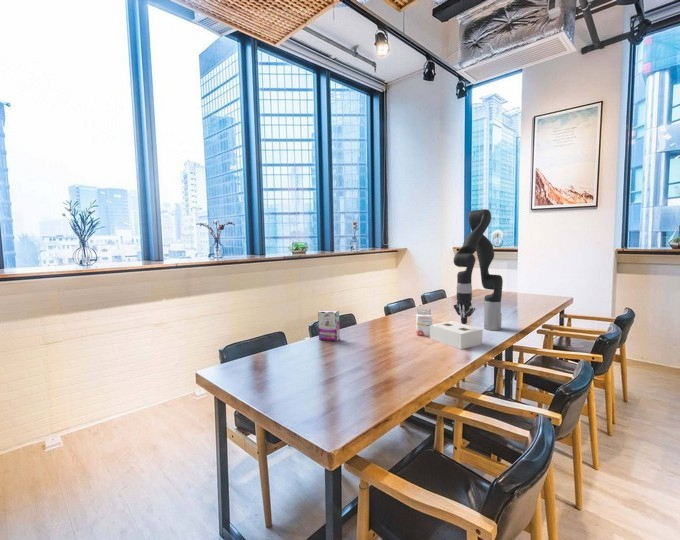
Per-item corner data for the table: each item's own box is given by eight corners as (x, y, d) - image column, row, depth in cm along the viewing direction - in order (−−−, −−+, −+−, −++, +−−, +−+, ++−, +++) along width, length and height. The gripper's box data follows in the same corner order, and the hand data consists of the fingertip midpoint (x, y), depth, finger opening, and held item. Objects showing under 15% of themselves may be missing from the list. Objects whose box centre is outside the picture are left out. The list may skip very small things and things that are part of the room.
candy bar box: (340, 339, 201) (339, 310, 199) (336, 341, 196) (336, 312, 195) (322, 337, 205) (321, 309, 203) (318, 339, 200) (317, 311, 199)
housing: (450, 334, 206) (450, 320, 205) (482, 344, 187) (482, 329, 186) (430, 338, 198) (430, 324, 197) (461, 349, 179) (461, 333, 178)
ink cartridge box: (417, 335, 204) (417, 310, 203) (416, 333, 209) (416, 309, 208) (432, 335, 203) (432, 310, 202) (431, 333, 208) (431, 309, 207)
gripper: (479, 292, 181) (479, 325, 183) (459, 289, 192) (459, 320, 194) (469, 294, 177) (469, 327, 179) (449, 290, 189) (449, 322, 190)
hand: (464, 323), depth 186 cm, fingers closed
